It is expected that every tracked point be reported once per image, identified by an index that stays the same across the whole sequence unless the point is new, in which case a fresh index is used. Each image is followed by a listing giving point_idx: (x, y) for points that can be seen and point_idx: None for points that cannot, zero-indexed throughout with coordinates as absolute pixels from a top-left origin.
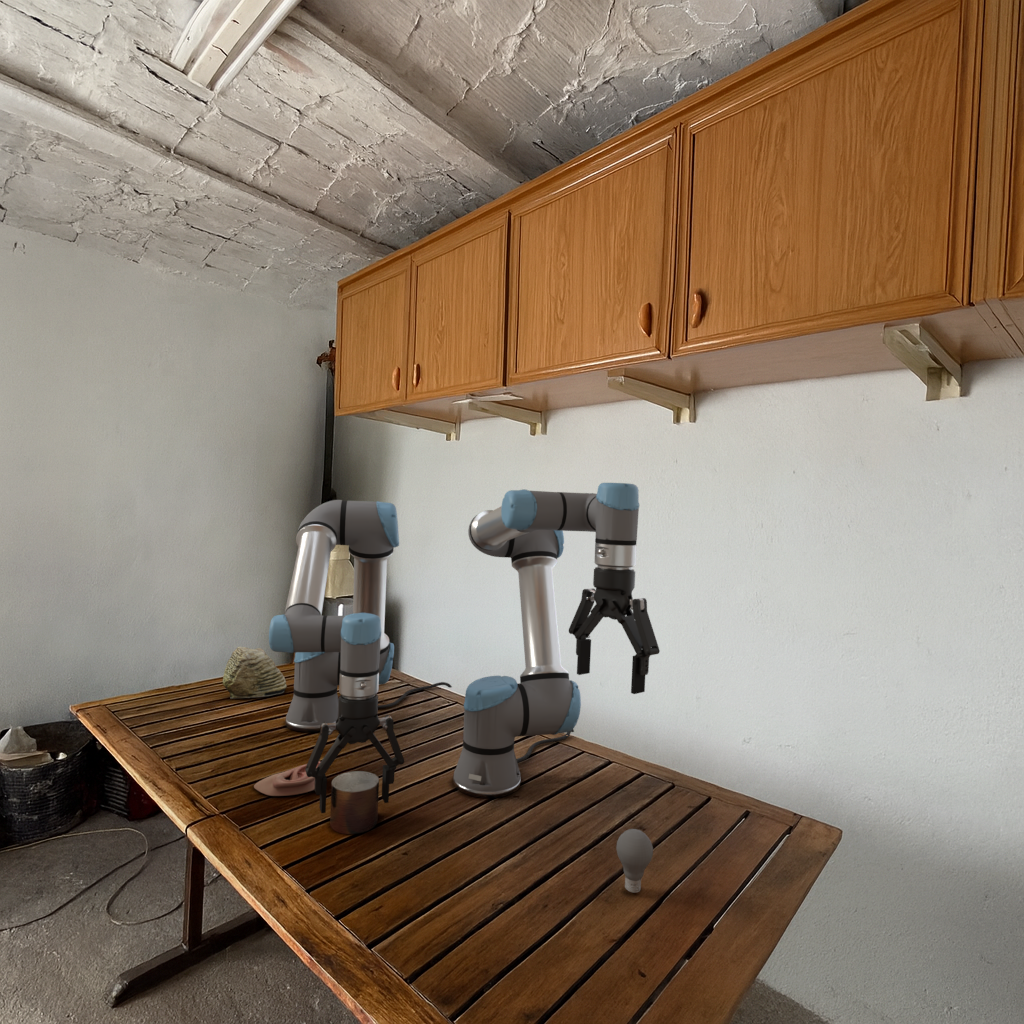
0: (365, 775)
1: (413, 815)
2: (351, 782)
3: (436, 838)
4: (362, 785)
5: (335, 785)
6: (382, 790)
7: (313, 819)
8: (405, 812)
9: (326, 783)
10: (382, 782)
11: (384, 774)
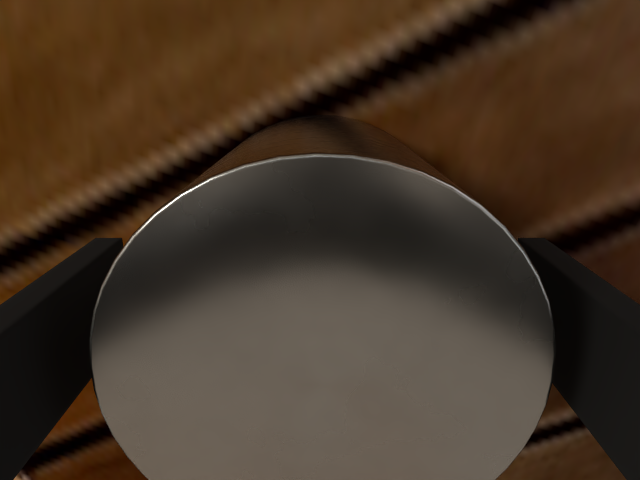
0: (449, 304)
1: (625, 271)
2: (279, 400)
3: (609, 466)
4: (362, 477)
5: (125, 415)
6: (541, 277)
7: (112, 136)
8: (604, 229)
9: (13, 475)
10: (576, 296)
11: (627, 412)
